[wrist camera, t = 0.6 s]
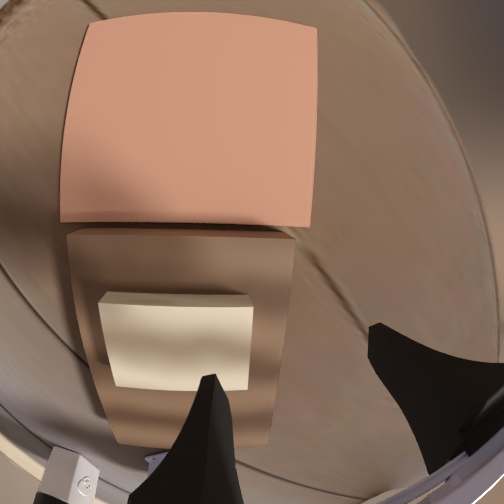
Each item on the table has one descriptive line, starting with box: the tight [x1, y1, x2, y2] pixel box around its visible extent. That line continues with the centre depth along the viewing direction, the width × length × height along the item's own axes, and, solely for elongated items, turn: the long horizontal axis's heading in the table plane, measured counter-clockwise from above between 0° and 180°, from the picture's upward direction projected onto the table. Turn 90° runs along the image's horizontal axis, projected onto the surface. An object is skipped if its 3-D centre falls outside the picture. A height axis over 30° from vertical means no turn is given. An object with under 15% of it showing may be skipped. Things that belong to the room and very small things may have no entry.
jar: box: [33, 446, 100, 504], centre depth 19 cm, size 9×8×12 cm
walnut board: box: [66, 228, 296, 449], centre depth 21 cm, size 22×16×3 cm
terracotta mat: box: [60, 12, 317, 227], centre depth 18 cm, size 18×20×1 cm
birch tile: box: [98, 291, 254, 391], centre depth 18 cm, size 7×10×2 cm
